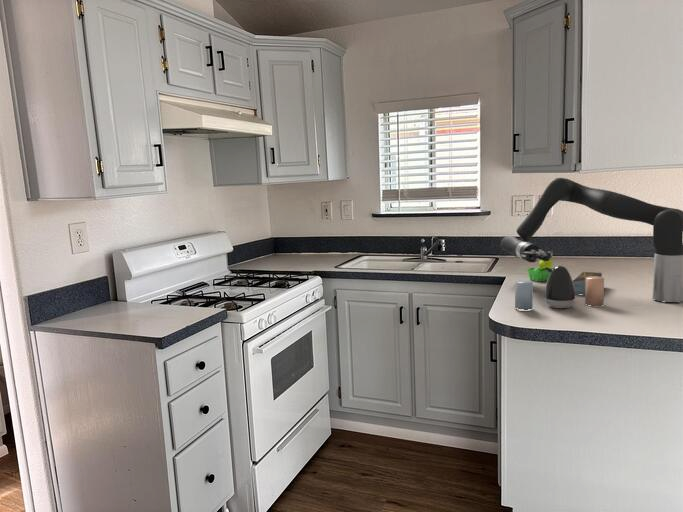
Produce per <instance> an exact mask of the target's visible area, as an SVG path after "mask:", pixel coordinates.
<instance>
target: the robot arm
mask: <svg viewBox="0 0 683 512" xmlns="http://www.w3.org/2000/svg"><path fill="white" fill-rule="evenodd" d="M560 201H562V202H569V203H574V204H578V205H582V206H585V207H587V208H589V209H590V210H593V211H594V212H597V213H599V214H601V215H605V216H606V217H611V218H614V219H619V220H625V221H633V222H639V223H645V224H648V225H650V226H653V227H652V228H653V229H652V245H653V248H654V254H653V255H654V258H653V282H652V283H653V285H652V300H653V299H655V300H658V301H665V302H681V301H682V302H683V210H681V209H680V208H679V209H678V208H672V207H667V206H661V205H656V204H652V203H648V202H646V201H642V200H641V199H638V198H635V197H631V196H629V195H626V194H623V193H619V192H616V191H615V192H614V191H611V190H607V189H601V188H593V187H589V186H586V185H583V184H580V183H579V182H577V181H576V182H575V181H573V180H571V179H568V178H565V177H555V178H553V179H551V180H550V181H549V183H548V184H547V186H546V187H545V189H544V191H543V192H542V195H541V197H539V198H538V201H537V202H536V204H535V205H534V207H533V208H532V209H531V211H530V212H529V214H528V215H526V217H525V219H523V221H522V222H521V223H520V224H519V226H517V229H516V233H517V235H518V236H519V237H520V238H521V240H520V239H519V238H517V237H514V236H513V235H506V236H504V237H503V238H502V240H501V241H500V248H501V249H502V250H503V251H504V252H507V253H508V254H509V255H511V256H513V257H517V258H520V259H521V260H523V261H526V262H528V263H536V262H537V261H541V260H542V261H549V259H551V260H552V258H553V254H554V253H553V250H549V251H545V250H542V249H541V247H540V246H539V245H538V244H537V243H532V242H531V238H532V237H533V236H534V235H535V234H536V233H537V231H538V230H539V229H540V228H541V227H542V225H543V224H544V221H545V219H546V217H547V215H548V214H549V212H550V211H551V209H552V208H553V207H554V206H555V205H556V204H557V203H559V202H560ZM655 300H654V301H655ZM658 301H657V302H658ZM665 302H664V303H665ZM682 302H681V303H682Z"/></svg>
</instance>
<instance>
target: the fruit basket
mask: <svg viewBox="0 0 683 512" xmlns="http://www.w3.org/2000/svg"><path fill="white" fill-rule="evenodd" d="M552 261H553V260H552V258H551V259H549V261H542V260H539V263H538V265H539V266H540V267H539V266H538V267H531V268H527V270H526V271H527V272H528V275H529V279H530V280H529V281H533V280H534V281H533V282H537V281H539V282H546V281H545V280H548V277H549V275H550V272H549V271H547V270H545V267H548V268H550V269H553V268H554V267H553V262H552Z"/></svg>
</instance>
